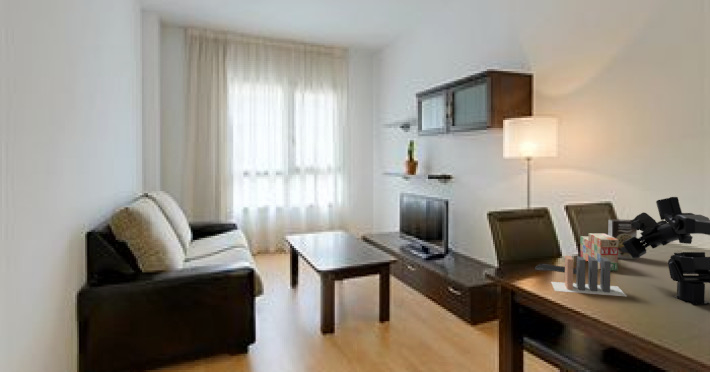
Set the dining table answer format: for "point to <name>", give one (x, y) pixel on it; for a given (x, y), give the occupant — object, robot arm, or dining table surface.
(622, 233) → the coffee box
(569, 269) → the terracotta domino
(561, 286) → the white mat
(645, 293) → the dining table surface
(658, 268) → the dining table surface
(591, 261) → the domino
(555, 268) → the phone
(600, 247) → the stack of blocks
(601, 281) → the domino
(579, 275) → the domino
